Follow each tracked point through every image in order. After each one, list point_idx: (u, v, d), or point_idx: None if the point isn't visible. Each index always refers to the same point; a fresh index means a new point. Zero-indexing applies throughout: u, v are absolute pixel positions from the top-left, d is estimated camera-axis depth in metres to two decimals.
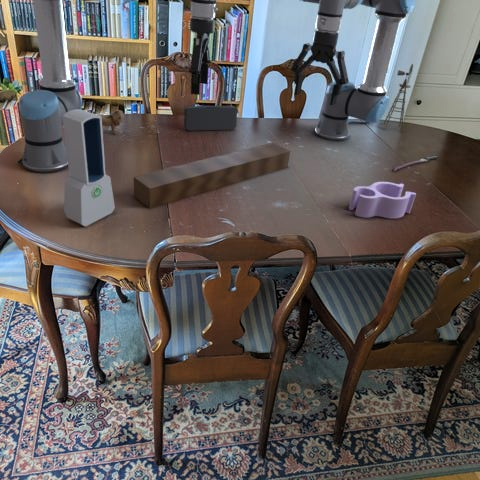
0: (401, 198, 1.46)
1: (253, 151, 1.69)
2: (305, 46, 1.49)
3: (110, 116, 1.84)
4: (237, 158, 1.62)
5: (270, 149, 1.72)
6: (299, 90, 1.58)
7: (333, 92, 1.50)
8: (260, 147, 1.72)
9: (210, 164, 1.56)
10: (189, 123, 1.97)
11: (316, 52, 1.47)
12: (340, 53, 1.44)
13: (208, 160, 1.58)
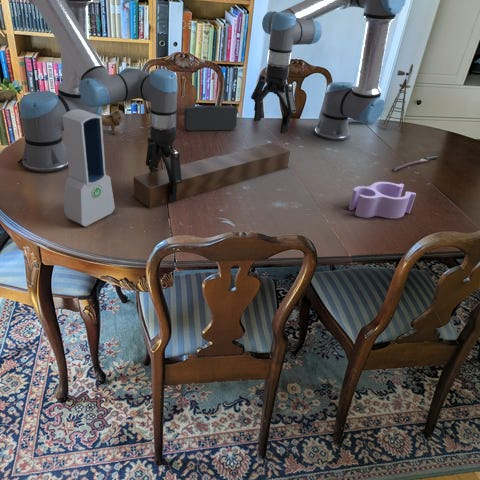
0: (401, 198, 1.46)
1: (253, 151, 1.69)
2: None
3: (110, 116, 1.84)
4: (237, 158, 1.62)
5: (270, 149, 1.72)
6: None
7: None
8: (260, 147, 1.72)
9: (210, 164, 1.56)
10: (189, 123, 1.97)
11: None
12: None
13: (208, 160, 1.58)
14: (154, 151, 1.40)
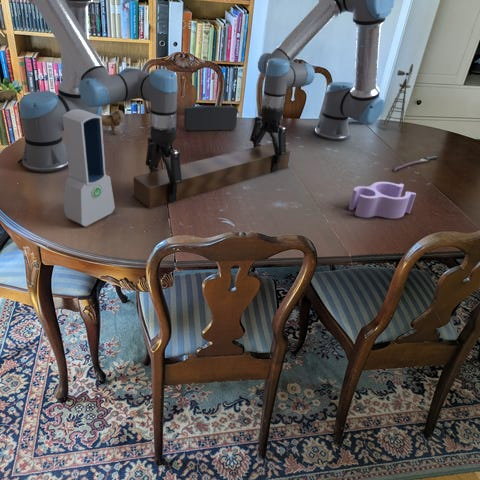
0: (401, 198, 1.46)
1: (253, 151, 1.69)
2: None
3: (110, 116, 1.84)
4: (237, 158, 1.62)
5: (270, 149, 1.72)
6: None
7: None
8: (260, 147, 1.72)
9: (210, 164, 1.56)
10: (189, 123, 1.97)
11: None
12: None
13: (208, 160, 1.58)
14: (154, 151, 1.40)
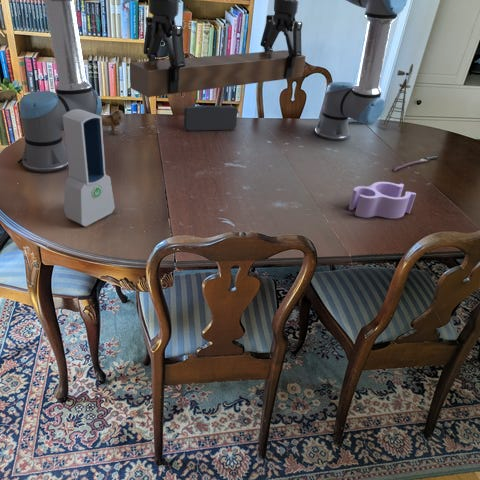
0: (401, 198, 1.46)
1: (264, 54, 1.51)
2: None
3: (110, 116, 1.84)
4: (246, 57, 1.44)
5: (283, 53, 1.54)
6: None
7: None
8: (272, 52, 1.54)
9: (217, 59, 1.38)
10: (189, 123, 1.97)
11: None
12: None
13: (214, 57, 1.40)
14: (153, 31, 1.22)
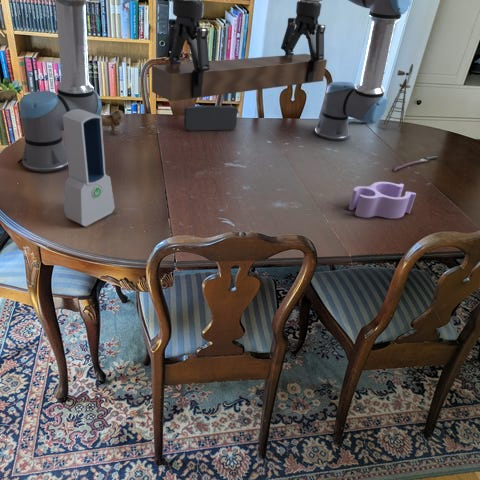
0: (401, 198, 1.46)
1: (285, 57, 1.48)
2: None
3: (110, 116, 1.84)
4: (268, 60, 1.41)
5: (304, 57, 1.51)
6: None
7: None
8: (293, 55, 1.51)
9: (239, 63, 1.34)
10: (189, 123, 1.97)
11: None
12: None
13: (236, 60, 1.37)
14: (176, 33, 1.19)
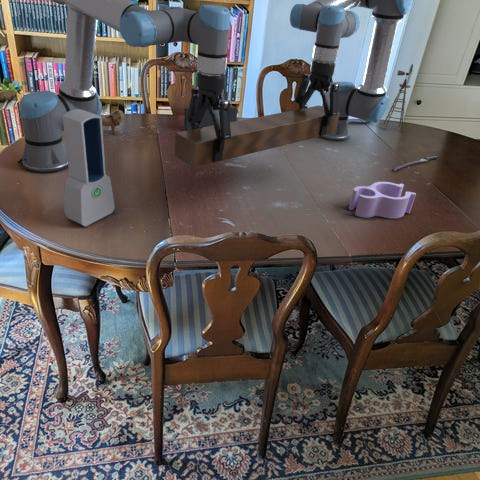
0: (401, 198, 1.46)
1: (300, 112, 1.53)
2: None
3: (110, 116, 1.84)
4: (284, 118, 1.46)
5: (318, 111, 1.56)
6: None
7: None
8: (307, 109, 1.57)
9: (257, 123, 1.40)
10: (189, 123, 1.97)
11: None
12: None
13: (254, 119, 1.42)
14: (199, 103, 1.25)
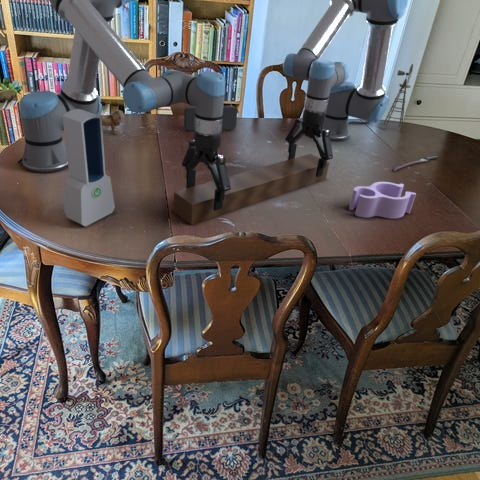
0: (401, 198, 1.46)
1: (291, 162, 1.63)
2: None
3: (110, 116, 1.84)
4: (276, 170, 1.56)
5: (309, 160, 1.66)
6: None
7: None
8: (298, 159, 1.66)
9: (250, 177, 1.50)
10: (189, 123, 1.97)
11: None
12: None
13: (247, 173, 1.52)
14: (196, 156, 1.33)
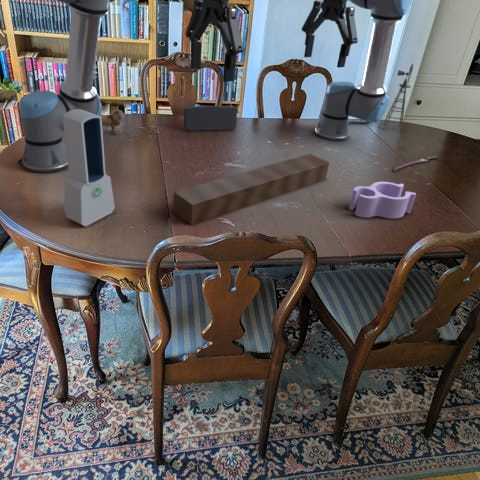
0: (401, 198, 1.46)
1: (291, 162, 1.63)
2: None
3: (110, 116, 1.84)
4: (276, 170, 1.56)
5: (309, 160, 1.66)
6: None
7: None
8: (298, 159, 1.66)
9: (250, 177, 1.50)
10: (189, 123, 1.97)
11: None
12: None
13: (247, 173, 1.52)
14: (202, 16, 1.13)
